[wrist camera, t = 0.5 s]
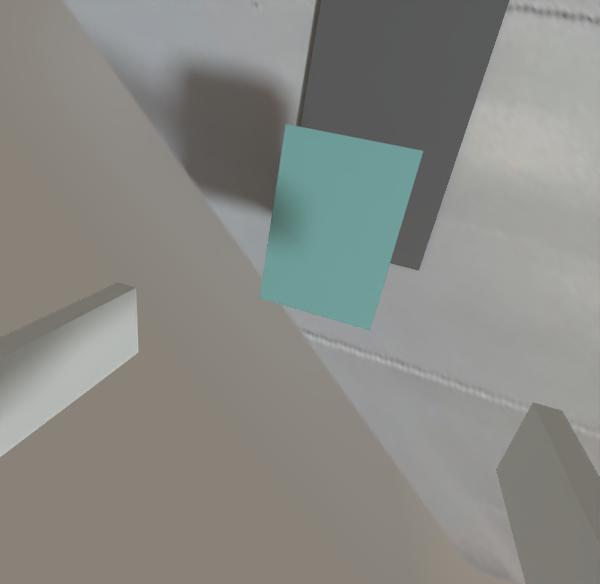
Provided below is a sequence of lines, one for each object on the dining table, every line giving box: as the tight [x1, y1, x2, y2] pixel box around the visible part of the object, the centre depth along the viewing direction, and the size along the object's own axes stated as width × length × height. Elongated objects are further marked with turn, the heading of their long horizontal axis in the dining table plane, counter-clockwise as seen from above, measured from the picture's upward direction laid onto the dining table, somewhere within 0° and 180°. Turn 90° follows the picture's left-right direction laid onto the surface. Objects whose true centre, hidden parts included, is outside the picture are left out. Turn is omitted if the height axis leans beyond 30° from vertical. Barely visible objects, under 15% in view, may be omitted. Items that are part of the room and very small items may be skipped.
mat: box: [300, 0, 509, 270], centre depth 29 cm, size 24×13×1 cm, turn 169°
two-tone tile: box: [260, 124, 423, 330], centre depth 21 cm, size 10×7×3 cm
